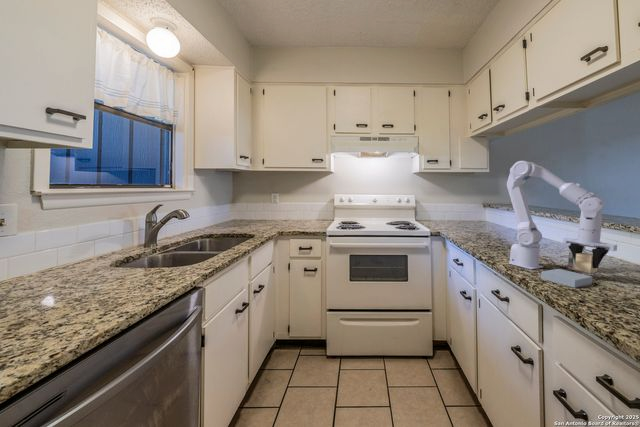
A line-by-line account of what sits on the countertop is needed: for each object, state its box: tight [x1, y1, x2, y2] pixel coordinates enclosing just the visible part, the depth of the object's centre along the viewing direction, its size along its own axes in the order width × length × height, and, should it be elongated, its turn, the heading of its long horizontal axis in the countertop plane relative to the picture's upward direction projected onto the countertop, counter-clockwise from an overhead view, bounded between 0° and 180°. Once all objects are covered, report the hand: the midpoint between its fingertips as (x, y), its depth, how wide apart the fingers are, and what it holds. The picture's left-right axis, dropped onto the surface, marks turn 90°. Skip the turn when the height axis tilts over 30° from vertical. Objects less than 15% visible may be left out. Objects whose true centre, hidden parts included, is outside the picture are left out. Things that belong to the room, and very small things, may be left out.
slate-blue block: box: [540, 268, 593, 289], centre depth 96 cm, size 10×10×3 cm
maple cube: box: [574, 252, 599, 274], centre depth 100 cm, size 4×4×6 cm
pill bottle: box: [567, 246, 588, 272], centre depth 110 cm, size 5×5×10 cm
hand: (586, 266), depth 100 cm, fingers closed on maple cube, 4 cm apart
